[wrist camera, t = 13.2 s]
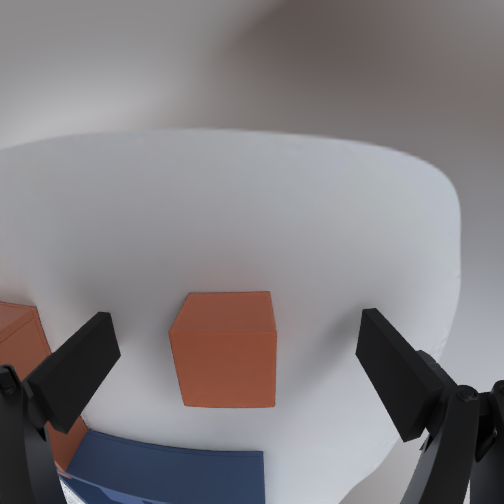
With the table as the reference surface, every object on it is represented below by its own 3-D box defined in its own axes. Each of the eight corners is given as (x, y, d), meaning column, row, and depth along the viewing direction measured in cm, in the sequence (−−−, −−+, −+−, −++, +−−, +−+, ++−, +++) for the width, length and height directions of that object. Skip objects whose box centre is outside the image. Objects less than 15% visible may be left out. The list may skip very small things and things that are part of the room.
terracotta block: (189, 292, 13) (167, 331, 10) (270, 290, 13) (277, 331, 10) (197, 357, 14) (183, 406, 10) (269, 357, 14) (275, 407, 10)
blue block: (106, 448, 16) (92, 480, 13) (147, 458, 16) (135, 493, 13) (121, 470, 17) (110, 499, 14) (159, 478, 17) (150, 510, 14)
